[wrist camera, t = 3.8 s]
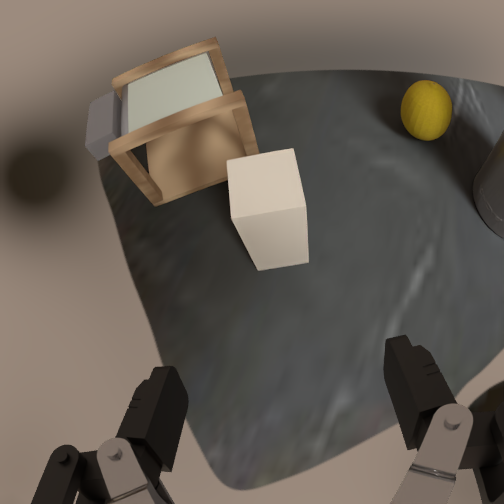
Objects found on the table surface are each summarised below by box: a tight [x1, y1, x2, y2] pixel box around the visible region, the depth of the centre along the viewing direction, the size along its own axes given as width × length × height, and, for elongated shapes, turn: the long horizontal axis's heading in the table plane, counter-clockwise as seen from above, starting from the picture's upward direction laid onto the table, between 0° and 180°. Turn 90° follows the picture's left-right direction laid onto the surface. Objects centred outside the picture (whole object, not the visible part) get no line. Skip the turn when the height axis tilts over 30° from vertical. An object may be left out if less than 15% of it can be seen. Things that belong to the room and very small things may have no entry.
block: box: [227, 148, 309, 271], centre depth 24 cm, size 4×4×10 cm
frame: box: [108, 37, 259, 207], centre depth 30 cm, size 12×12×10 cm
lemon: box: [401, 80, 452, 141], centre depth 27 cm, size 6×6×8 cm
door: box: [85, 53, 223, 161], centre depth 27 cm, size 13×9×2 cm
